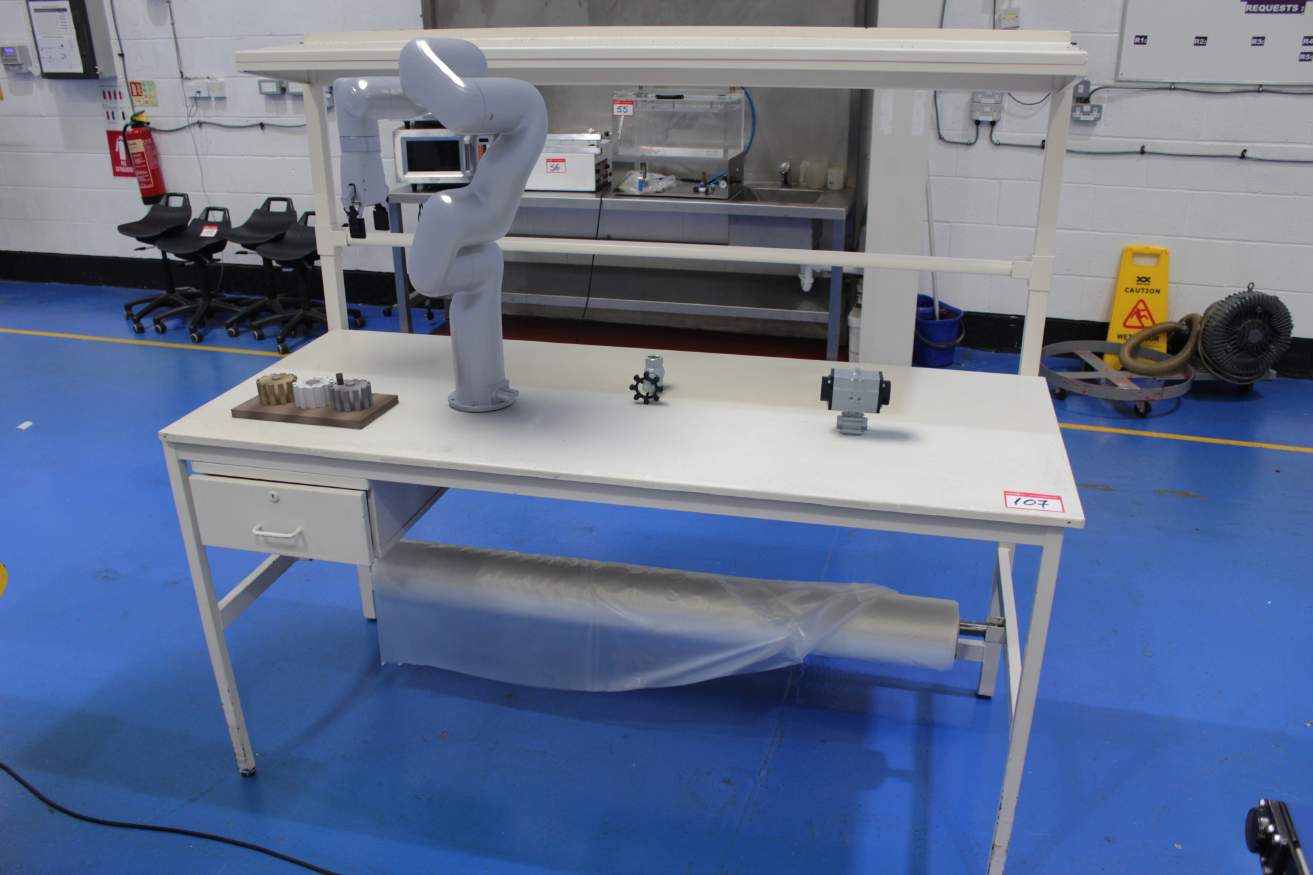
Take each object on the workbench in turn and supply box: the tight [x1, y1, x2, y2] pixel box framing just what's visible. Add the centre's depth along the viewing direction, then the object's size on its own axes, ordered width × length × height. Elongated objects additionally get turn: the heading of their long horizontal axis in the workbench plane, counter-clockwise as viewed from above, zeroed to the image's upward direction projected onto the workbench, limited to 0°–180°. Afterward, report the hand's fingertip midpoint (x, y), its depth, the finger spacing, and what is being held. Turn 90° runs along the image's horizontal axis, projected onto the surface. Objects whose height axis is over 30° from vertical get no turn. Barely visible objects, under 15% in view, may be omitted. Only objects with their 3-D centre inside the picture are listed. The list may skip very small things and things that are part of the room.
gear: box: [292, 375, 335, 409], centre depth 163 cm, size 7×7×4 cm
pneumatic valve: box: [819, 366, 892, 436], centre depth 153 cm, size 6×12×12 cm, turn 79°
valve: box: [628, 354, 665, 406], centre depth 173 cm, size 7×7×12 cm
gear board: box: [230, 372, 400, 430], centre depth 163 cm, size 26×14×8 cm, turn 78°
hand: (370, 234), depth 178 cm, fingers open, 9 cm apart
